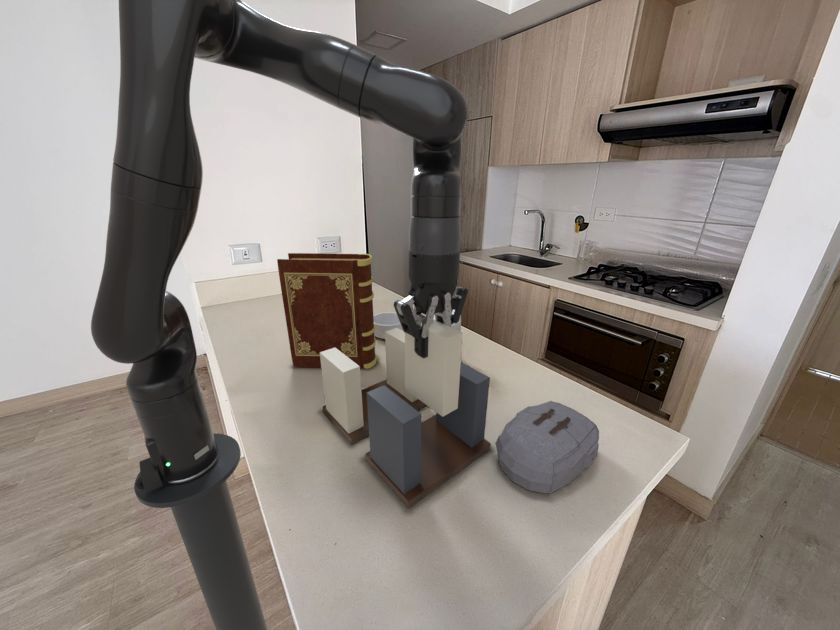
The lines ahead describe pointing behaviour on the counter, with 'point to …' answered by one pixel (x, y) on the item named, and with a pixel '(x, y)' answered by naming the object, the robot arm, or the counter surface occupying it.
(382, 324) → the saucepan
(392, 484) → the book rack
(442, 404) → the cream book
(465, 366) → the grey book right
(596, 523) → the counter surface
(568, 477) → the grey rounded bag
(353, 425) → the cream book left
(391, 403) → the grey book left
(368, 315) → the decorative book
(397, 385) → the cream book right
